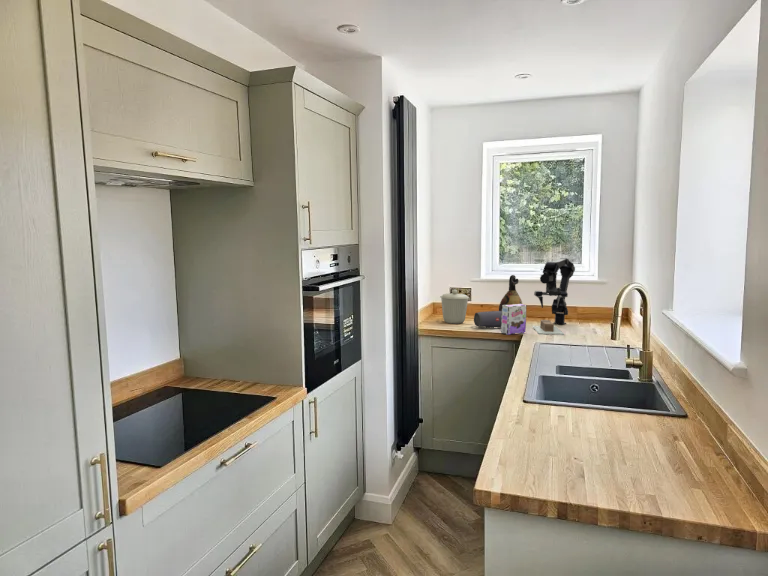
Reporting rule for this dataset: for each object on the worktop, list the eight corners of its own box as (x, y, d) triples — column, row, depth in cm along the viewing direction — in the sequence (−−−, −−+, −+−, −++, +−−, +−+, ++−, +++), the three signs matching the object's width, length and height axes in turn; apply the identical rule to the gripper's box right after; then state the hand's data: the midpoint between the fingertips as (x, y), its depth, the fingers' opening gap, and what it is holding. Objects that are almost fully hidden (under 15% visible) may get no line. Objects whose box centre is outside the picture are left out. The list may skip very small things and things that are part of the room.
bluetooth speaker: (479, 329, 312) (480, 313, 311) (473, 326, 321) (473, 310, 320) (514, 328, 319) (514, 311, 318) (506, 325, 328) (506, 309, 326)
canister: (472, 321, 338) (473, 289, 336) (461, 326, 323) (462, 292, 321) (447, 319, 348) (448, 287, 346) (434, 322, 333) (435, 289, 331)
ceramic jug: (525, 323, 335) (527, 276, 331) (501, 323, 335) (502, 276, 331) (519, 318, 352) (520, 274, 348) (495, 318, 352) (497, 273, 348)
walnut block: (540, 319, 317) (544, 323, 304) (549, 320, 316) (553, 324, 303) (540, 327, 317) (544, 331, 304) (548, 327, 317) (553, 331, 304)
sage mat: (532, 327, 322) (532, 325, 322) (555, 327, 321) (555, 326, 321) (538, 334, 300) (538, 332, 300) (564, 334, 299) (564, 333, 299)
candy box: (507, 335, 297) (508, 306, 295) (500, 333, 302) (501, 304, 301) (525, 333, 304) (527, 304, 302) (518, 331, 309) (520, 303, 307)
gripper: (537, 283, 312) (536, 309, 314) (570, 284, 310) (569, 310, 312) (534, 281, 323) (533, 306, 325) (565, 282, 321) (564, 307, 323)
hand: (550, 307), depth 321 cm, fingers open, 9 cm apart
